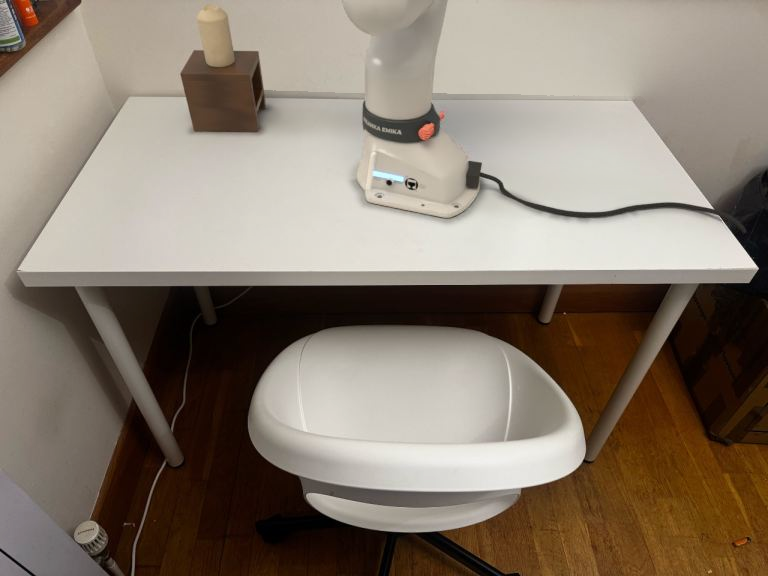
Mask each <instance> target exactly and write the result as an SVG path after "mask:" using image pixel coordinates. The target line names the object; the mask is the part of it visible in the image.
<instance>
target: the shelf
mask: <svg viewBox="0 0 768 576" xmlns="http://www.w3.org/2000/svg"><path fill="white" fill-rule="evenodd" d="M233 51H234V58H235V61H234V63H233V64H231V65H229V66H225V67H212V66H209V65H208V64H207V63H206V60H205V55H204V50H203V49H194V50H193V51H192V53H191V54H190V56H189V58H188V59H187V61H186V62H185V65H184V66H183V68H182V69H181V71H180V73H179V75H180V79H181V84H182V87H183V91H184V95H185V100H186V104H187V107H188V108H187V109H188V112H189V116H190V120H191V124H192V128H193V132H210V133H211V132H212V133H213V132H217V133H219V132H220V133H221V132H223V133H259V131H260V125H259V120H258V112H259V110H266V109H267V101H266V96H265V89H264V82H263V75H262V66H261V60H260V52H259V50H233Z"/></svg>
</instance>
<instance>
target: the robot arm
mask: <svg viewBox="0 0 768 576" xmlns="http://www.w3.org/2000/svg"><path fill="white" fill-rule="evenodd" d="M448 1H449V0H341V3H342V6H343V9H344V11H345V14H346V16H347V17H348V19H349V21H350V22H351V23H352V24H353V25H354V26H355V28H357V29H358V30H359V31H360V32H362V33H365V34H367V35H370V40H369V42H368V46H367V48H366V51H365V55H364V100H363V101H362V111H361V112H362V113H361V114H362V115H361V117H362V121H361V122H362V128H363V132H364V134H363V144H362V150H361V157H360V161H359V165H358V168H357V171H356V181H357V183H358V185H359V186H360V187H361V189H362V190H363V191H364V196H365V200H366V201H367V202H368V203H370V204H375V205H379V206H380V205H381V206H384V207H389V208H394V209H398V210H405V211H409V212H412V213H413V212H414V213H419V214H424V215H428V216H433V217H438V218H443V219H444V218H445V219H450V218H453V217H455V216H458V215H460V214H461V213H463V212H464V211H466V210H468V208H469V207H470V206H471V205H472V204H473V203H474V201H475V199H476V198H477V197H478V195H479V192H480V190H481V189H480V188H481V180H480V179H481V178H483V179H487V180H489V181H492V182H494V183H496V184H497V185H498V188H499V190H500V192H501V193H502V194H503V195H505V196H506V197H508V198H509V199H511V200H514V201H516V202H518V203H520V204H522V205H524V206H526V207H529V208H532V209H536V210H541V211H545V212H549V213H553V214H557V215H562V216H569V217H570V216H571V217H581V218H582V217H584V218H585V217H586V218H588V217H589V218H591V217H592V218H596V217H597V218H598V217H607V216H608V217H609V216H613V215H618V214H622V213H626V212H630V211H635V210H644V209H655V208H666V207H667V208H680V209H686V210H692V211H697V212H703V213H707V214H712V215H715V216H719V217H721V218H723V219H726V220H727V221H729V222H731V223H732V224H733V225H734V226H736V227H737V228H738V230H739V231H740V232H741V233H743V234H747V233H748V232H747V229H746V227H745V226H744V225H743V224H742V222H741V221H739V220H738V219H737V218H736V217H734V216H732V215H730V214H729V213H726V212H724V211H721V210H718V209H715V208H711V207H706V206H701V205H694V204H690V203H683V202H671V201H670V202H669V201H668V202H667V201H666V202H665V201H664V202H653V203H643V204H642V203H641V204H634V205H628V206H625V207H621V208H620V207H619V208H615V209H612V210H606V211H573V210H565V209H560V208H557V207H553V206H552V207H551V206H548V205H543V204H539V203H534V202H531V201H527V200H524V199H522V198H519V197H517V196H515V195H514V194H512V193H511V192H510V191H508V190H507V189H506V188H505V185H504V183H503V181H502V180H501V179H500V178H498V177H496V176H494V175H491V174H488V173H485V172H482V168H483V167H482V166H483V162H481V161H480V162H479V161H474V160H473V161H472V160H469V158H468V154H467V152H466V151H465V149H463V148H462V146H460V145H459V144H458V143H457V142H456V141H455V140H454V139H453V138H451V136H450V135H448V133H447V132H445V130H443V129H442V127H441V122H442V120H444V118H445V113H446V111H445V110H442V111H441V112H440V113H439V114H438V112H437V111H436V109H435V106H434V103H433V90H434V78H435V67H436V60H437V59H436V58H437V53H438V47H439V43H440V39H441V36H442V30H443V26H444V23H445V18H446V17H445V16H446V12H447V7H448V6H447V5H448Z"/></svg>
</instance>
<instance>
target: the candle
mask: <svg viewBox="0 0 768 576" xmlns="http://www.w3.org/2000/svg"><path fill="white" fill-rule="evenodd" d="M196 19H197V25H198V29H199V36H200V40H201V44H202V50H204V55H205V60H206V63H207V64H208V65H209V66H212V67H225V66H229V65H231V64H233V63H234V61H235V58H234V51H235V50H234V45H233V39H232V33H231V29H230V21H229V15H228V12H226V11H225V10H224V9H223V8H221V6H219V5H218V6H215V5H213V4H206V5H205V6H204V7H203V8H202V9H201V10H200V11H199V12H198V13H197V15H196Z"/></svg>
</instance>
